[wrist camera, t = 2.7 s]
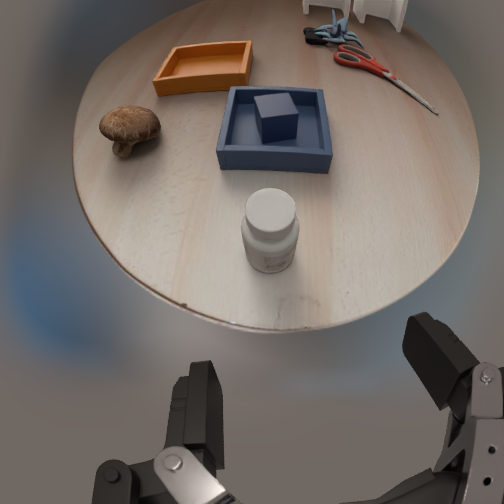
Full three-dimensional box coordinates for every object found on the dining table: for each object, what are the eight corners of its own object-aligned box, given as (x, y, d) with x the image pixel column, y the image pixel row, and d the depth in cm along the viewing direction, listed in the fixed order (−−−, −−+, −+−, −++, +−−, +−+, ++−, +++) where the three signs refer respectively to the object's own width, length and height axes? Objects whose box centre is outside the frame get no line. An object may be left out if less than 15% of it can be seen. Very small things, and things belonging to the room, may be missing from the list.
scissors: (437, 116, 32) (440, 110, 31) (325, 59, 38) (325, 52, 36) (443, 98, 34) (446, 93, 33) (342, 47, 40) (343, 41, 38)
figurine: (366, 56, 40) (373, 28, 33) (307, 54, 42) (307, 25, 34) (353, 30, 42) (357, 4, 34) (299, 29, 43) (298, 2, 36)
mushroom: (97, 165, 27) (99, 112, 23) (98, 147, 32) (101, 104, 29) (162, 162, 31) (169, 112, 27) (152, 145, 36) (157, 103, 33)
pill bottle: (302, 244, 26) (315, 200, 18) (277, 283, 24) (280, 251, 17) (263, 221, 27) (261, 171, 20) (236, 257, 26) (224, 216, 18)
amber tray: (157, 96, 36) (152, 81, 33) (177, 60, 40) (173, 47, 37) (246, 90, 35) (245, 72, 32) (252, 54, 39) (251, 40, 36)
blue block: (262, 143, 30) (261, 118, 26) (255, 121, 31) (253, 96, 27) (296, 139, 30) (299, 113, 26) (287, 117, 31) (288, 92, 27)
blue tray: (220, 169, 29) (215, 150, 26) (232, 103, 34) (230, 86, 31) (327, 173, 28) (332, 155, 26) (319, 107, 33) (322, 89, 30)
